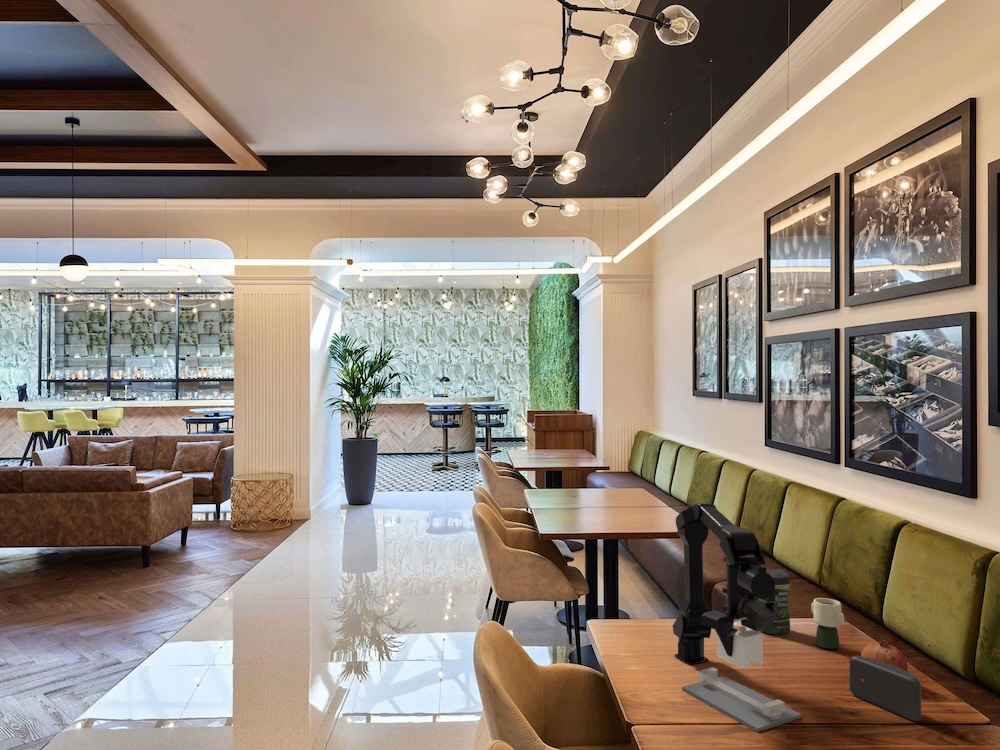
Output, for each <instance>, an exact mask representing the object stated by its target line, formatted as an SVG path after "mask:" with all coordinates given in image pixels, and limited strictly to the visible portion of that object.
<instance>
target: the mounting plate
mask: <svg viewBox="0 0 1000 750" xmlns="http://www.w3.org/2000/svg"><path fill="white" fill-rule="evenodd" d="M715 680H717V681H719V682H721V683H723V684H725V685H727V686H729V687H731V688H733V689H735V690H737V691H738V692H740V693H742V694H744V695H746V696H748V697H750V698H752V699H754V700H756V701H758V702H760V703H762V704H765V703H768V702H771V701H774V700H773V699H771V698H769V697H767V696H765V695H763V694H761V693H759V692H757V691H755V690H753V689H751V688H749V687H747V686H745V685H743V684H741V683H739V682H737V681H735V680H733V679H730V678H728V677H727V676H725V675H722V676H718V678H716V679H715ZM681 690H682V691H683V692H684V691H685V693H686V692H687V694H688V695H690V696H691V697H693V696H694V697H693V698H695V699H697V700H699V701H701V702H702V703H704V704H706V705H708V706H709V707H711V708H713V709H715V710H716V711H719V712H721V713H722V714H723V715H726V716H727V717H729V718H731V719H733V720H735V721H736V722H738V723H740V724H741V725H744V726H745V727H747V728H749V729H751V730H752V731H754V732H756V733H759V732H762V731H765V730H768V729H771V728H774V727H778V726H781V725H783V724H786V723H789V722H792V721H795V719H796V720H798V718H799V719H801V718H802V713H800V712H798V711H795V710H793V709H792V708H789V707H788V706H785V712H782V713H781V719H780V720H777V721H772V720H770V719H769V718H767V717H765V716H763V715H761V714H759V713H757V712H755V711H753V710H751V709H750V708H748V707H746V706H744V705H742V704H740V703H738V702H736V701H734V700H733V699H731V698H729V697H727V696H725V695H723V694H721V693H719V692H717V691H715V690H714V689H712V688H710V687H708V686H706V685H704V684H702V683H701V681H699V682H695V683H691V684H688V685H683V686H681ZM800 717H801V718H800Z"/></svg>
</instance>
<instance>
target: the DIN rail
mask: <svg viewBox="0 0 1000 750" xmlns="http://www.w3.org/2000/svg"><path fill="white" fill-rule="evenodd" d="M718 671H719V670H718V669H717V668H715V667H709V668H704V669H701V670H697V680H698V681H699V682H701V683H702V684H704V685H706V686H708V687H710V688H712V689H714V690H715V691H717V692H719V693H721V694H723V695H725V696H727V697H729V698H731V699H733V700H734V701H736V702H738V703H740V704H742V705H744V706H746V707H748V708H750V709H751V710H753V711H755V712H757V713H759V714H761V715H763V716H765V717H767V718H769V719H770V720H772V721H777V720H780V719H781V713H782V712H785V707H786V706H785V701H783V700H780V699H778V698H777V699H775V700H773V701H771V702H768V703H765V704H762V703H760V702H758V701H756V700H754V699H752V698H750V697H748V696H746V695H744V694H742V693H740V692H738V691H737V690H735V689H733V688H731V687H729V686H727V685H725V684H723V683H721V682H719V681H717V680H715V679H716V678H718V677H719V675H718V673H719V672H718Z"/></svg>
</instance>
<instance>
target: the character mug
mask: <svg viewBox="0 0 1000 750" xmlns="http://www.w3.org/2000/svg"><path fill="white" fill-rule="evenodd" d="M810 605H811V614H813V621H814V622H813V623H815V624H817V628H816V636H815V644H816V646H818V647H820V648H825V649H830V650H833V649H840V637H839V631H838V627H840V626H843V625H844V624H845V615H844V613H843V612H842V603H841V602H840V601H838V600H836V599H832V598H826V597H817V598H814V599H813V602H811V604H810Z"/></svg>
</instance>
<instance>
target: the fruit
mask: <svg viewBox="0 0 1000 750" xmlns="http://www.w3.org/2000/svg"><path fill="white" fill-rule="evenodd" d="M860 656H861V657H866V658H871V659H875V660H878V661H882V662H885V663H888V664H891V665H893V666H896V667H898V668H901V669H903V670H905V671H907V672H908V671H909V670H908V669H909V668H908V667H909V666H908V665H909V664H908V661H907V658H906V656H905V655H904V654H903V652H902V651H901V650H900V649H898V648H897V647H895V646H893V645H890V644H889V642H888V641H886V640H884V639H882V640H881V641H879V642H874V643H869V644H866V646H865V647H864V648H863V649H862V650H861V653H860Z"/></svg>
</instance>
